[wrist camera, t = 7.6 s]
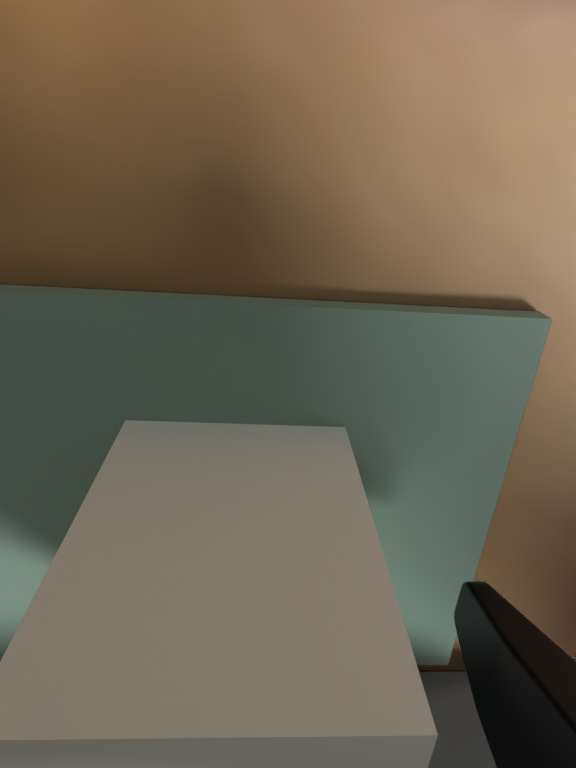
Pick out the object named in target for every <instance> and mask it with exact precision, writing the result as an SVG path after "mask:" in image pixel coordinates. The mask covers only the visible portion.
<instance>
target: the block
mask: <svg viewBox="0 0 576 768" xmlns="http://www.w3.org/2000/svg"><path fill="white" fill-rule="evenodd" d="M437 737H438V734H437V730H436V727H435V724H434V720H433V717H432V714H431V710H430V707H429V704H428V700H427V697H426V694H425V690H424V687H423V684H422V680H421V677H420V674H419V670H418V667H417V664H416V660H415V657H414V654H413V650H412V647H411V644H410V640H409V637H408V634H407V630H406V627H405V624H404V620H403V617H402V614H401V610H400V607H399V604H398V600H397V597H396V594H395V590H394V587H393V584H392V580H391V577H390V574H389V570H388V567H387V564H386V560H385V557H384V554H383V550H382V547H381V544H380V540H379V537H378V534H377V530H376V527H375V524H374V520H373V517H372V514H371V510H370V507H369V504H368V500H367V497H366V494H365V490H364V487H363V484H362V480H361V477H360V474H359V470H358V467H357V464H356V460H355V457H354V454H353V450H352V447H351V444H350V440H349V437H348V434H347V430H346V427H325V426H294V425H262V424H230V423H198V422H167V421H135V420H125V422H124V424H123V426H122V428H121V430H120V432H119V434H118V435H117V437H116V439H115V441H114V443H113V445H112V447H111V449H110V451H109V453H108V455H107V457H106V459H105V461H104V462H103V464H102V466H101V468H100V470H99V472H98V474H97V476H96V478H95V480H94V482H93V484H92V486H91V488H90V489H89V491H88V493H87V495H86V497H85V499H84V501H83V503H82V505H81V507H80V509H79V511H78V513H77V515H76V516H75V518H74V520H73V522H72V524H71V526H70V528H69V530H68V532H67V534H66V536H65V538H64V540H63V542H62V543H61V545H60V547H59V549H58V551H57V553H56V555H55V557H54V559H53V561H52V563H51V565H50V567H49V569H48V570H47V572H46V574H45V576H44V578H43V580H42V582H41V584H40V586H39V588H38V590H37V592H36V594H35V596H34V597H33V599H32V601H31V603H30V605H29V607H28V609H27V611H26V613H25V615H24V617H23V619H22V621H21V623H20V624H19V626H18V628H17V630H16V632H15V634H14V636H13V638H12V640H11V642H10V644H9V646H8V648H7V650H6V651H5V653H4V655H3V657H2V659H1V661H0V768H428V765H429V762H430V759H431V756H432V753H433V750H434V746H435V743H436V740H437Z"/></svg>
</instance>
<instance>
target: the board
mask: <svg viewBox="0 0 576 768" xmlns="http://www.w3.org/2000/svg"><path fill="white" fill-rule="evenodd" d="M551 322H552V319H551V318H550V317H548V316H546V315H544V314H543V313H541V312H539V311H520V310H500V309H481V308H461V307H441V306H421V305H401V304H381V303H362V302H342V301H322V300H302V299H282V298H262V297H242V296H223V295H203V294H183V293H163V292H143V291H123V290H104V289H84V288H64V287H44V286H24V285H4V284H0V661H1V659H2V657H3V655H4V653H5V651H6V650H7V648H8V646H9V644H10V642H11V640H12V638H13V636H14V634H15V632H16V630H17V628H18V626H19V624H20V623H21V621H22V619H23V617H24V615H25V613H26V611H27V609H28V607H29V605H30V603H31V601H32V599H33V597H34V596H35V594H36V592H37V590H38V588H39V586H40V584H41V582H42V580H43V578H44V576H45V574H46V572H47V570H48V569H49V567H50V565H51V563H52V561H53V559H54V557H55V555H56V553H57V551H58V549H59V547H60V545H61V543H62V542H63V540H64V538H65V536H66V534H67V532H68V530H69V528H70V526H71V524H72V522H73V520H74V518H75V516H76V515H77V513H78V511H79V509H80V507H81V505H82V503H83V501H84V499H85V497H86V495H87V493H88V491H89V489H90V488H91V486H92V484H93V482H94V480H95V478H96V476H97V474H98V472H99V470H100V468H101V466H102V464H103V462H104V461H105V459H106V457H107V455H108V453H109V451H110V449H111V447H112V445H113V443H114V441H115V439H116V437H117V435H118V434H119V432H120V430H121V428H122V426H123V424H124V422H125V420H135V421H167V422H198V423H230V424H262V425H294V426H325V427H346V430H347V434H348V437H349V440H350V444H351V447H352V450H353V454H354V457H355V460H356V464H357V467H358V470H359V474H360V477H361V480H362V484H363V487H364V490H365V494H366V497H367V500H368V504H369V507H370V510H371V514H372V517H373V520H374V524H375V527H376V530H377V534H378V537H379V540H380V544H381V547H382V550H383V554H384V557H385V560H386V564H387V567H388V570H389V574H390V577H391V580H392V584H393V587H394V590H395V594H396V597H397V600H398V604H399V607H400V610H401V614H402V617H403V620H404V624H405V627H406V630H407V634H408V637H409V640H410V644H411V647H412V650H413V654H414V657H415V660H416V664H417V665H448V663H449V660H450V656H451V653H452V650H453V646H454V643H455V640H456V636H457V631H456V627H455V622H454V611H455V607H456V603H457V600H458V597H459V593H460V590H461V587H462V584H463V583H464V582H467V581H473V580H474V577H475V573H476V570H477V567H478V564H479V560H480V557H481V554H482V550H483V547H484V544H485V540H486V537H487V534H488V530H489V527H490V524H491V520H492V517H493V514H494V510H495V507H496V504H497V501H498V497H499V494H500V491H501V487H502V484H503V481H504V477H505V474H506V471H507V467H508V464H509V461H510V457H511V454H512V451H513V448H514V444H515V441H516V438H517V434H518V431H519V428H520V424H521V421H522V418H523V414H524V411H525V408H526V404H527V401H528V398H529V394H530V391H531V388H532V385H533V381H534V378H535V375H536V371H537V368H538V365H539V361H540V358H541V355H542V351H543V348H544V345H545V341H546V338H547V335H548V331H549V328H550V325H551Z"/></svg>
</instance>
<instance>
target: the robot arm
mask: <svg viewBox="0 0 576 768" xmlns="http://www.w3.org/2000/svg"><path fill="white" fill-rule="evenodd" d="M454 622H455V627H456V631H457V635H458V639H459V643H460V647H461V651H462V655H463V659H464V663H465V667H466V671H467V675H468V679H469V683H470V687H471V692H472V695H473V699H474V703H475V706H476V710H477V713H478V716H479V719H480V722H481V725H482V727H483V730H484V733H485V736H486V739H487V742H488V744H489V747H490V750H491V753H492V756H493V759H494V761H495V764H496V767H497V768H576V661H575V660H573V659H572V658H571V657H570V656H569V655H568V654H567V653H565V652H564V651H563V650H562V649H561V648H560V647H559V646H558V645H556V644H555V643H554V642H553V641H552V640H551V639H550V638H549V637H547V636H546V635H545V634H544V633H543V632H542V631H541V630H540V629H538V628H537V627H536V626H535V625H534V624H533V623H532V622H531V621H529V620H528V619H527V618H526V617H525V616H524V615H523V614H521V613H520V612H519V611H518V610H517V609H516V608H515V607H514V606H512V605H511V604H510V603H509V602H508V601H507V600H506V599H505V598H503V597H502V596H501V595H500V594H499V593H498V592H497V591H496V590H494V589H493V588H492V587H491V586H490V585H489V584H487V583H485V582H480V581H467V582H464V583H463V584H462V587H461V590H460V593H459V597H458V600H457V603H456V607H455V611H454Z"/></svg>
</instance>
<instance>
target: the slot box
mask: <svg viewBox="0 0 576 768" xmlns="http://www.w3.org/2000/svg"><path fill="white" fill-rule="evenodd" d="M419 674H420V677H421V680H422V684H423V687H424V690H425V694H426V697H427V700H428V704H429V707H430V710H431V714H432V717H433V720H434V724H435V727H436V730H437V734H438V737H437V740H436V743H435V746H434V750H433V753H432V756H431V759H430V762H429V765H428V768H497V767H496V764H495V761H494V759H493V756H492V753H491V750H490V747H489V744H488V742H487V739H486V736H485V733H484V730H483V727H482V725H481V722H480V719H479V716H478V713H477V710H476V706H475V703H474V699H473V695H472V692H471V687H470V683H469V679H468V675H467V672H419Z"/></svg>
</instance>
